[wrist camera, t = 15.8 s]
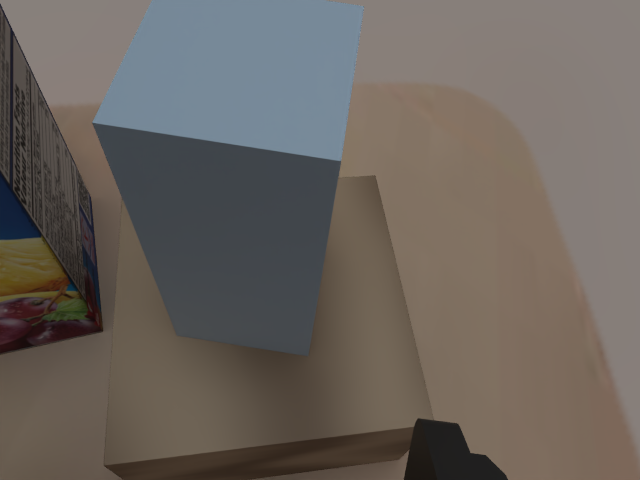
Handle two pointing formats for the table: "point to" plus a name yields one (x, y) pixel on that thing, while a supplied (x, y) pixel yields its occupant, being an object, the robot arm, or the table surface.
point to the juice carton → (40, 218)
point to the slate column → (234, 158)
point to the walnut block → (269, 370)
